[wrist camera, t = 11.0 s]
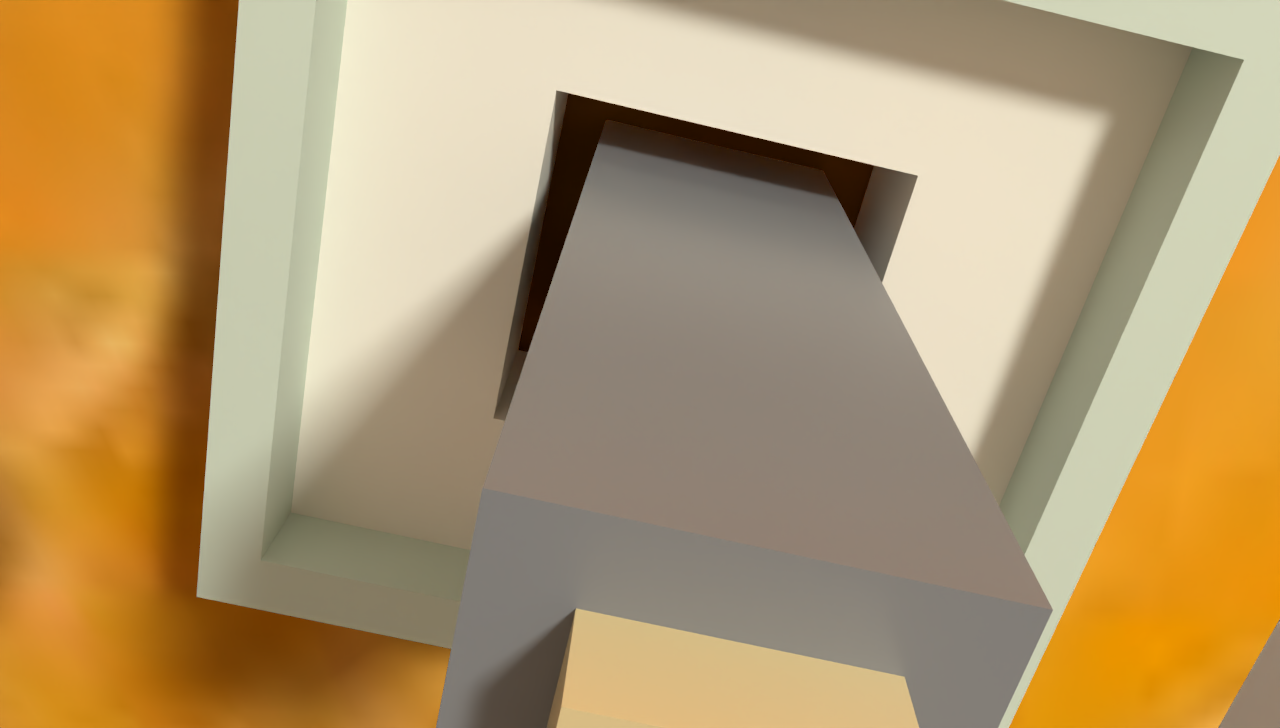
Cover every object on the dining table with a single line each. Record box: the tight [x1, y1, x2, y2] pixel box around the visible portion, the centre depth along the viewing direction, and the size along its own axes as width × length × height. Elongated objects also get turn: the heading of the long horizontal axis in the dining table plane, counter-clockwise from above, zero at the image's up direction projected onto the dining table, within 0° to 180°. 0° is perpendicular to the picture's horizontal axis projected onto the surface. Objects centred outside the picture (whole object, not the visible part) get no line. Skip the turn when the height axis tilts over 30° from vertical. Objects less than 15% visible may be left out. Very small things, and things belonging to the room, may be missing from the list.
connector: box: [436, 119, 1053, 728], centre depth 14 cm, size 4×4×14 cm
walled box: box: [197, 0, 1280, 728], centre depth 18 cm, size 14×13×4 cm
